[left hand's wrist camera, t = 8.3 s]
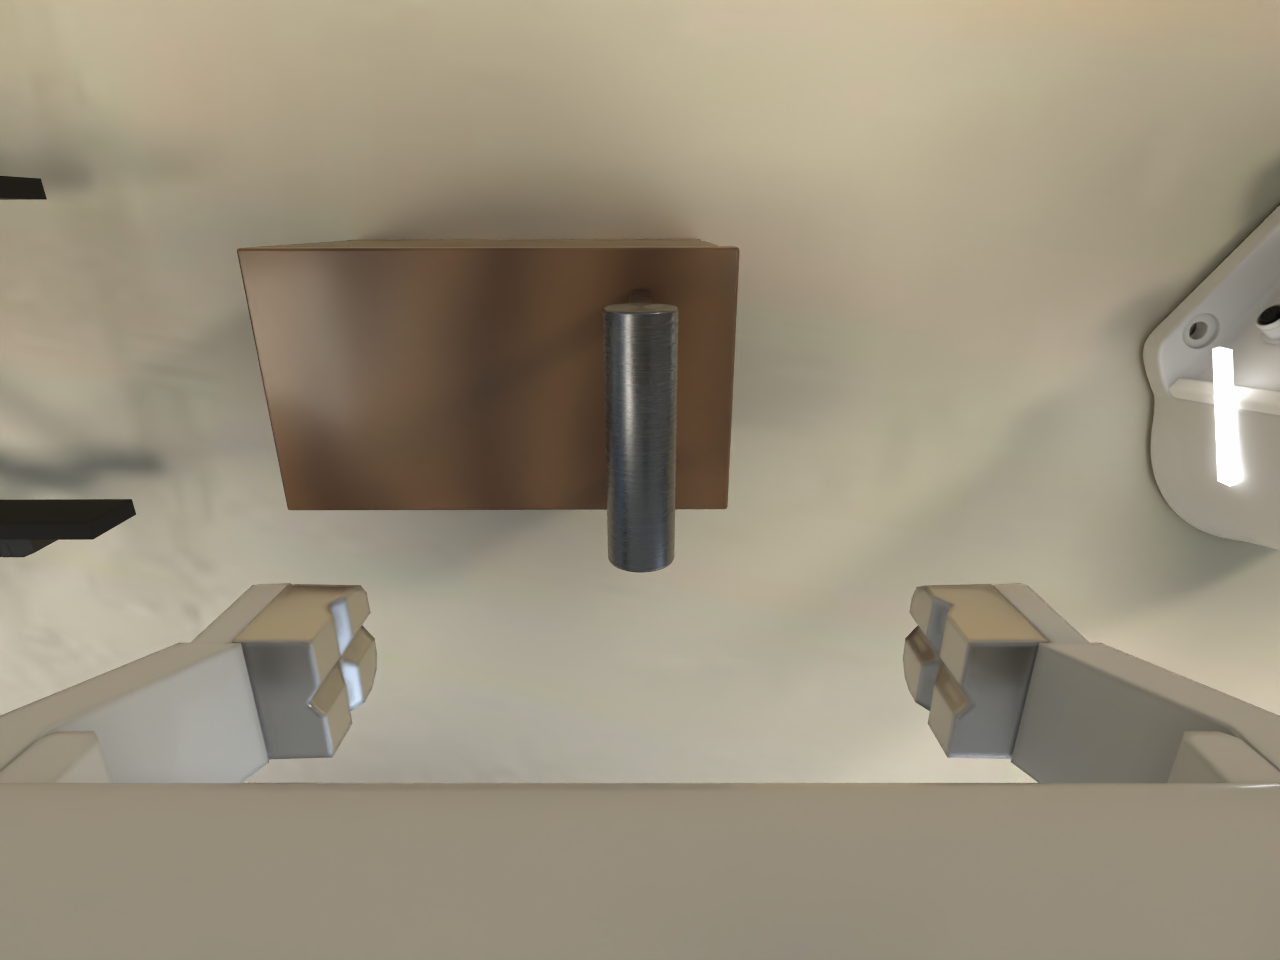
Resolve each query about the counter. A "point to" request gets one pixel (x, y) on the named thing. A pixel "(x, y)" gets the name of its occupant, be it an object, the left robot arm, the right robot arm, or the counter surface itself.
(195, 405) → the counter surface
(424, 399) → the lid
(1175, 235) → the counter surface
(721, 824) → the left robot arm
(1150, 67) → the counter surface
